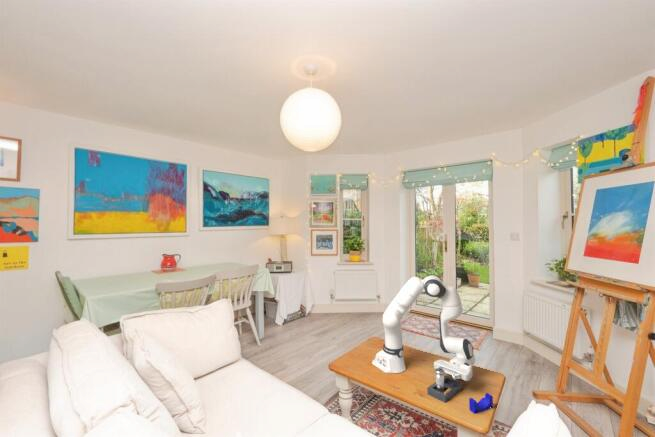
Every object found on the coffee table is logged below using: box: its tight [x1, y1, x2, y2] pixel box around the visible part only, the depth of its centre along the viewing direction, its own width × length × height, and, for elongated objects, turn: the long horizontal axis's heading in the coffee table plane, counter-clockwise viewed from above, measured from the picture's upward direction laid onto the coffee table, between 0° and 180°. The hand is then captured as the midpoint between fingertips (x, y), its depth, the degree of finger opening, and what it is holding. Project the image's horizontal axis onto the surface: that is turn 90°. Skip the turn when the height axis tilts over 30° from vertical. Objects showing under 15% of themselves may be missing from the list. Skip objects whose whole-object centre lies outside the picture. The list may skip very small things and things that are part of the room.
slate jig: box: [426, 375, 463, 403], centre depth 160 cm, size 10×19×4 cm, turn 130°
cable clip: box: [468, 392, 494, 415], centre depth 145 cm, size 12×4×6 cm, turn 109°
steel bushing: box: [434, 368, 446, 393], centre depth 157 cm, size 5×5×13 cm
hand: (445, 374), depth 160 cm, fingers open, 8 cm apart
